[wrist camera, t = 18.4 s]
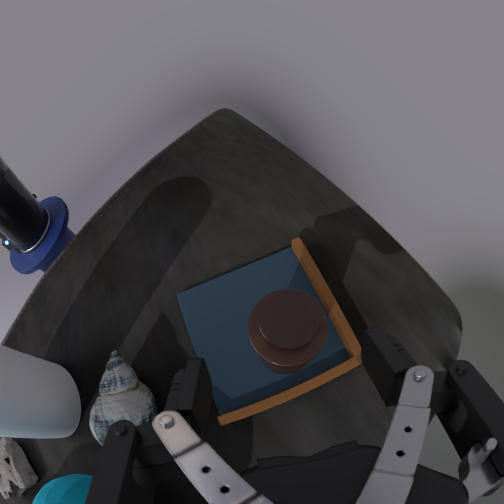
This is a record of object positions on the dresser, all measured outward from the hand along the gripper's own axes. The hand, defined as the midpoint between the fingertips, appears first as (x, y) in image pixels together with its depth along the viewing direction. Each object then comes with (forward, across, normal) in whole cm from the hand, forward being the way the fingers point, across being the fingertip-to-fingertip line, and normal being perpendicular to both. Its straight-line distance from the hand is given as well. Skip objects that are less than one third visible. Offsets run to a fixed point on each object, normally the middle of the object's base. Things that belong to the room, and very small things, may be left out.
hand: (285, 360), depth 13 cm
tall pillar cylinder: (+8, +30, +13) cm, 33 cm away
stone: (-2, +42, +23) cm, 48 cm away
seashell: (+8, +16, +13) cm, 22 cm away
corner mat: (+14, +1, +7) cm, 15 cm away
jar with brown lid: (+11, -1, +8) cm, 14 cm away
